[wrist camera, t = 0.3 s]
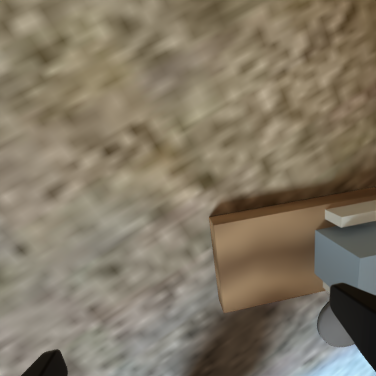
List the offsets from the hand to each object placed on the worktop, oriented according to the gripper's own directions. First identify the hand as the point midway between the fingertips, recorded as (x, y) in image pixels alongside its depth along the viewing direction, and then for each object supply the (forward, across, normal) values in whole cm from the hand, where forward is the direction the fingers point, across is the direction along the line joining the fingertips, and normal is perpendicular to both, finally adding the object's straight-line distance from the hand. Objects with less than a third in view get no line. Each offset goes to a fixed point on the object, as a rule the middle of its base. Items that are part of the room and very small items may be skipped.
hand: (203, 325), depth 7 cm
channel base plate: (+14, -16, +8) cm, 23 cm away
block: (+12, -16, +8) cm, 22 cm away
